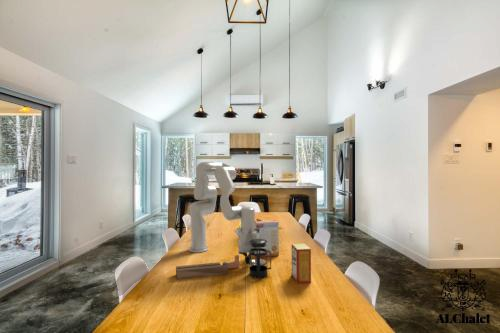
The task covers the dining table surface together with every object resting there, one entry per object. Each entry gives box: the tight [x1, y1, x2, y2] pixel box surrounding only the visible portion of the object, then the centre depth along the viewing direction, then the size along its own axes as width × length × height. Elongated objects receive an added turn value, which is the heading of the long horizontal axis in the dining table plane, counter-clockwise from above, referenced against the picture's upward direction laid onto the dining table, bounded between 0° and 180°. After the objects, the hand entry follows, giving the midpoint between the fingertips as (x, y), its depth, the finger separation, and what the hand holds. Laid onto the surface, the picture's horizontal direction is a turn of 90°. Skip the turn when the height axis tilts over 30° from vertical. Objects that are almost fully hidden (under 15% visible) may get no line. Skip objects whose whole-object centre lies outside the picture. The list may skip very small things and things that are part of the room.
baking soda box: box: [291, 242, 312, 284], centre depth 126 cm, size 10×6×16 cm
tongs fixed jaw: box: [176, 261, 229, 280], centre depth 131 cm, size 4×25×5 cm, turn 105°
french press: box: [248, 228, 272, 279], centre depth 131 cm, size 12×9×23 cm
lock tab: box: [226, 254, 240, 269], centre depth 140 cm, size 2×7×6 cm, turn 105°
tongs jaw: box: [175, 261, 221, 277], centre depth 133 cm, size 2×22×4 cm, turn 105°
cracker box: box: [255, 219, 280, 258], centre depth 161 cm, size 14×6×21 cm, turn 100°
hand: (248, 263), depth 142 cm, fingers closed
